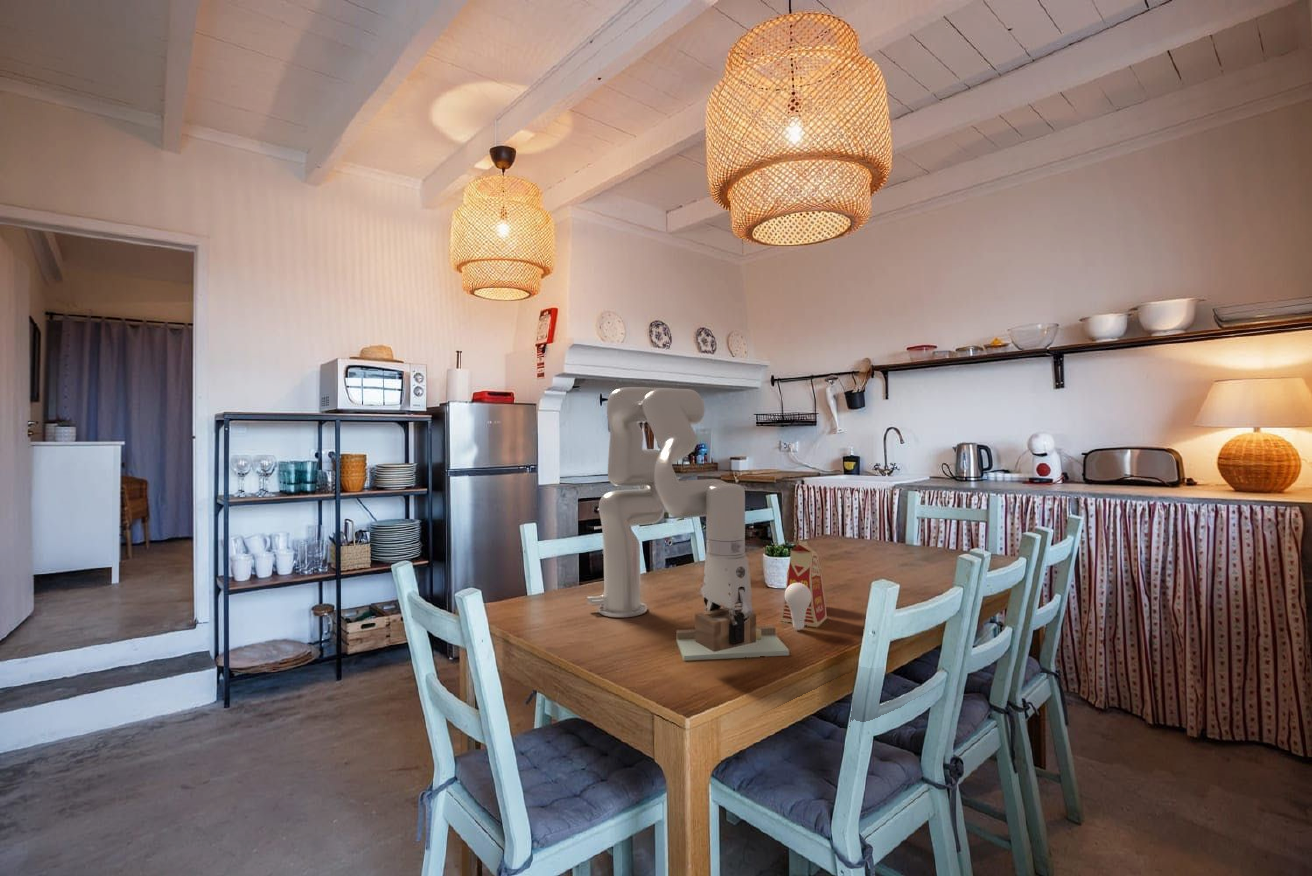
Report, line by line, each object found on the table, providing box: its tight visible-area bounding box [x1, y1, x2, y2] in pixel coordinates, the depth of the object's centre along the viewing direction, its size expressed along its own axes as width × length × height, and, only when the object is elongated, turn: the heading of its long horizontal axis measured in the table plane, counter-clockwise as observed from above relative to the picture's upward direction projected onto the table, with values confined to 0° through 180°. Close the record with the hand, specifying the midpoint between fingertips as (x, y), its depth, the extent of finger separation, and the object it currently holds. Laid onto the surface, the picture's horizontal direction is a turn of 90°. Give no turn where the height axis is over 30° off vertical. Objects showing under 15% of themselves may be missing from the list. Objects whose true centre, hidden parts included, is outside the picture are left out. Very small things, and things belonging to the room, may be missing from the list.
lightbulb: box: [784, 583, 812, 631], centre depth 145 cm, size 6×6×11 cm
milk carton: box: [780, 539, 828, 628], centre depth 153 cm, size 9×9×20 cm
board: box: [675, 625, 790, 662], centre depth 134 cm, size 22×12×3 cm, turn 95°
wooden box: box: [694, 605, 757, 652], centre depth 122 cm, size 10×6×6 cm, turn 120°
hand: (725, 637), depth 122 cm, fingers closed on wooden box, 6 cm apart
